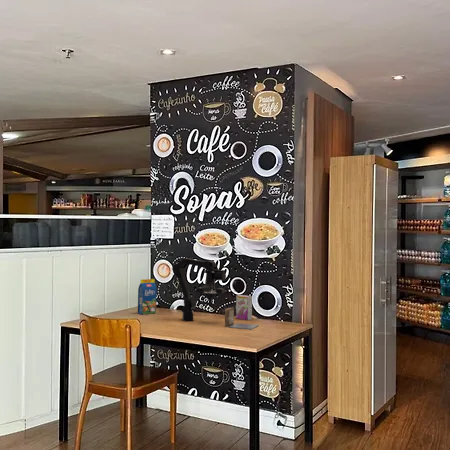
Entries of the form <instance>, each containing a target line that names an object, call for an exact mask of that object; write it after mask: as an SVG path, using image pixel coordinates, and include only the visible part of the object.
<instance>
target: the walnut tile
mask: <svg viewBox="0 0 450 450" xmlns="http://www.w3.org/2000/svg"><path fill="white" fill-rule="evenodd" d="M234 320H235V307H228V308H225V310H224V327H225V328H229V326H232V325H234V324H235V321H234Z"/></svg>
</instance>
